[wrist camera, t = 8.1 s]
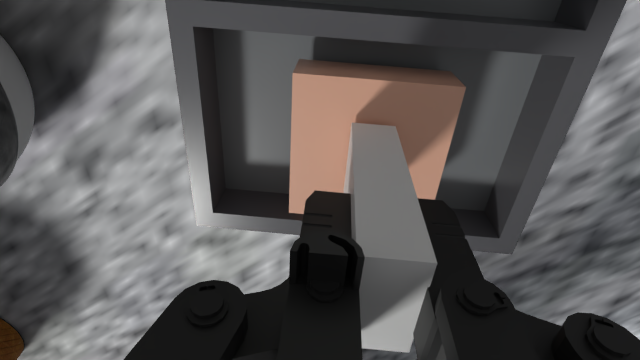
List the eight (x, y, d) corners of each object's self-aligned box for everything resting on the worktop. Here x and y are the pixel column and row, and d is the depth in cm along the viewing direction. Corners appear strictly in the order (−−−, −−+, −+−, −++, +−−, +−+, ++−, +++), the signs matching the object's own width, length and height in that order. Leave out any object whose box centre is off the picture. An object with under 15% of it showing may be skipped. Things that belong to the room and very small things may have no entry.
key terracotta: (419, 197, 16) (427, 225, 15) (294, 186, 16) (288, 212, 15) (450, 71, 13) (466, 87, 12) (299, 58, 13) (292, 73, 12)
